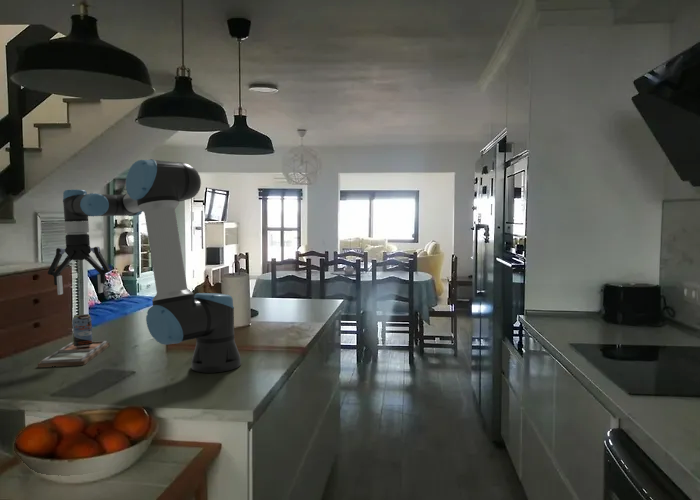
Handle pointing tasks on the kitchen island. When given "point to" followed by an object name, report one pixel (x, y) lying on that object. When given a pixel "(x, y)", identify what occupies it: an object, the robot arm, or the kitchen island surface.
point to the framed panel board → (74, 355)
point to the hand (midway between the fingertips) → (80, 293)
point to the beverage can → (82, 330)
